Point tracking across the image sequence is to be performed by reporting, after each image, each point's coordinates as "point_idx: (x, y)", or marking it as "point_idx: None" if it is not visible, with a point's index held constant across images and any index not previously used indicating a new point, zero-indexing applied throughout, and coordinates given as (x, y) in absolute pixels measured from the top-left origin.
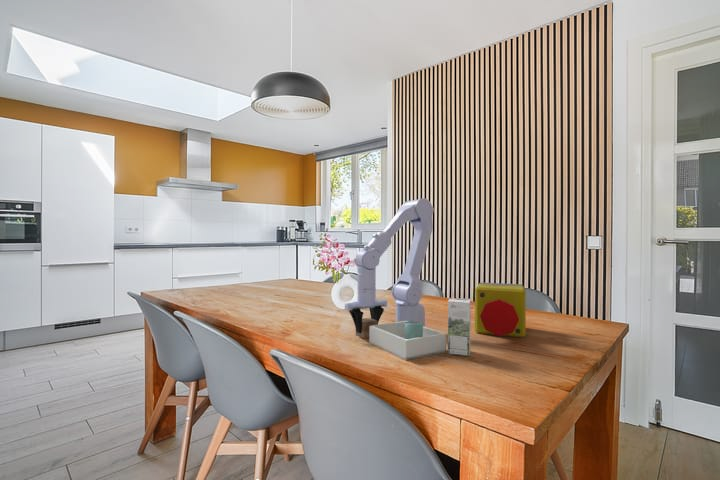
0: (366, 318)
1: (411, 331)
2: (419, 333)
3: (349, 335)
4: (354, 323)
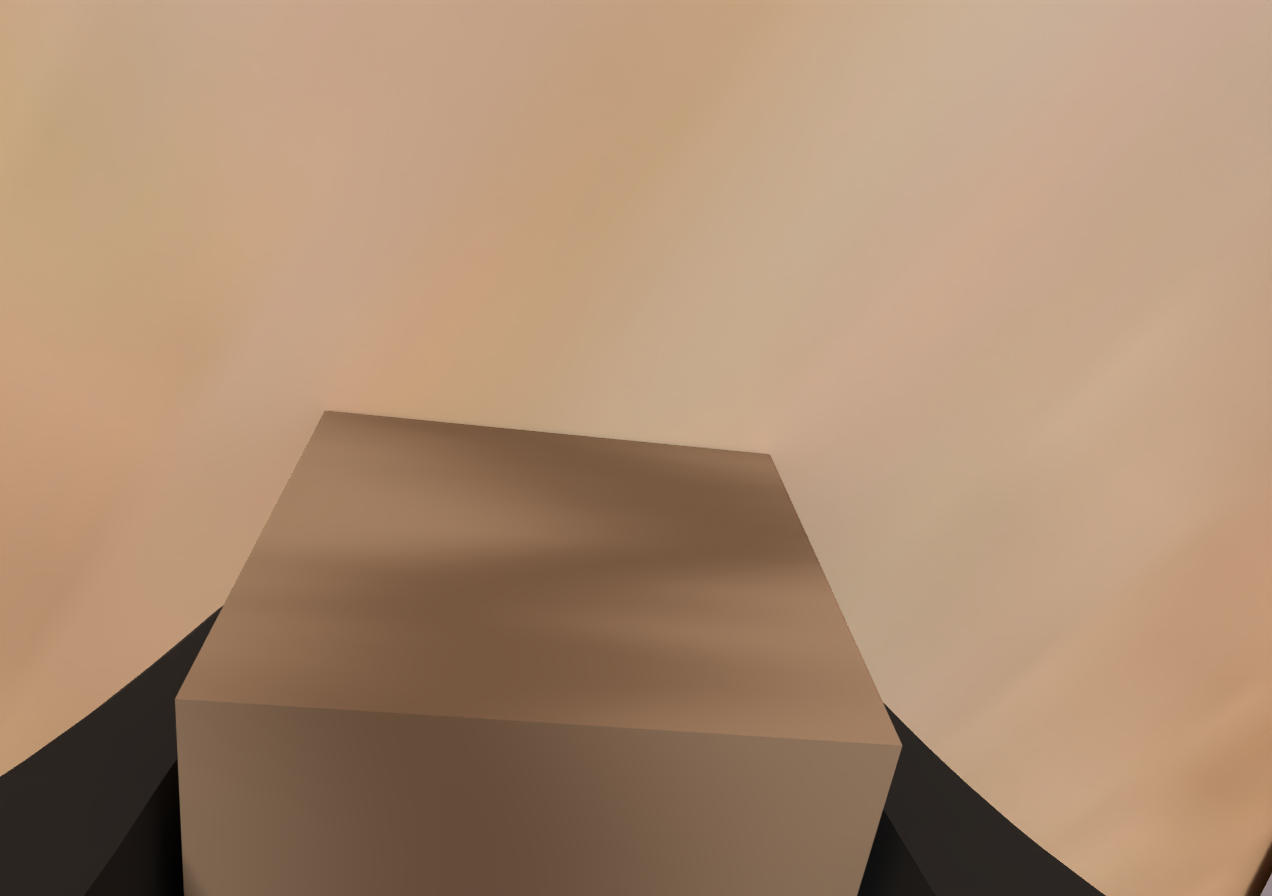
0: (702, 801)
1: None
2: None
3: (138, 343)
4: (77, 730)
